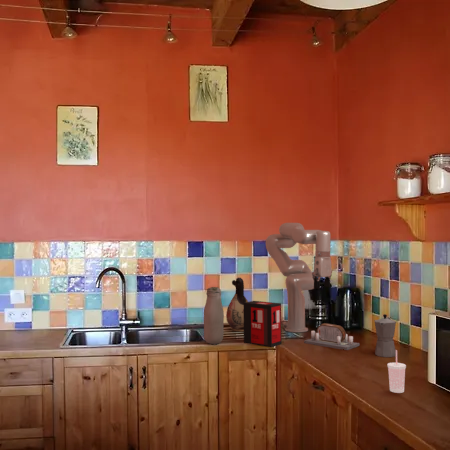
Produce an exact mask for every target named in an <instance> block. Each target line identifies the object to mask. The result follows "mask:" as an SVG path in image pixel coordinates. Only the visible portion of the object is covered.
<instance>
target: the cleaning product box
mask: <svg viewBox="0 0 450 450" xmlns="http://www.w3.org/2000/svg"><path fill="white" fill-rule="evenodd" d="M282 339H283V338H282V303H281V302H269V301H260V300H251V301H248V302H245V303H244V331H243V343H244V344H247V345H248V344H249V345H255V346H261V347H267V348H273V347H277V346H280V345H282Z"/></svg>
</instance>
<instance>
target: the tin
mask: <svg viewBox="0 0 450 450" xmlns="http://www.w3.org/2000/svg"><path fill="white" fill-rule="evenodd" d="M316 333H319V338H320V339H321V340H323V341H328V342H334V343H337V336H341V342H343V341H344V340H345V338H346V334H347V333H346V330H345V329H344V327H343V326H341V325H337V324H332V323H327V322H326V323H325V322H324V323H321V324H320V325H319V326H317V329H316Z"/></svg>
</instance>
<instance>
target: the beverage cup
mask: <svg viewBox="0 0 450 450" xmlns="http://www.w3.org/2000/svg"><path fill="white" fill-rule="evenodd" d="M395 351H396V356H395V362H388V363H387V370H388V381H389V392H392V393H397V394H401V393H404V392H405V380H406V379H405V378H406V368H407V365H406V364H405V363H401V362H398V350H397V349H395Z"/></svg>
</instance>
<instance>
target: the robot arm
mask: <svg viewBox="0 0 450 450" xmlns="http://www.w3.org/2000/svg"><path fill="white" fill-rule="evenodd" d="M278 232H279V233H274V234H269V235H268V236H267V237H266V239H265V248H266V251H267V253H268V255H269V256H270V257H271V258H272V260H273V261H274V262H275V264H276V266H277V268H278V269H279V271H280V272H281V274H282V276H284V277H286V278H285V288H286V293H287V294H286V295H287V296H286V297H287V321H283V322H282V326H285V328H284V331H285V332H289V333H306V332H308V331H309V328H308V327H306V312H305V311H306V301H305V300H306V299H305V296H304V294H303V292H302V291H309V290H314V289H316V290H320V288H321V286H320V285H321V282H320V279H321V278H324V280H323V281H324V287H325V288H330V287H331V280H332V278H331V277H332V273H333V269H332V258H331V238H332V237H331V232H330V231H328V230H321V229H305V227H304V225H303V224H302V223H300V222H285V223H281V225H279V228H278ZM296 244H301V245H315V249H314V250H315V251H314V252H315V256H314V257H315V259H314V266H313V271H312V269H310V267H309V265H308V263H306V262H305V261H304V260H302V259H291V258H290V256H289V254H288V252H286V251H285V250H283V249H291V248H294V247H295V246H296Z"/></svg>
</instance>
